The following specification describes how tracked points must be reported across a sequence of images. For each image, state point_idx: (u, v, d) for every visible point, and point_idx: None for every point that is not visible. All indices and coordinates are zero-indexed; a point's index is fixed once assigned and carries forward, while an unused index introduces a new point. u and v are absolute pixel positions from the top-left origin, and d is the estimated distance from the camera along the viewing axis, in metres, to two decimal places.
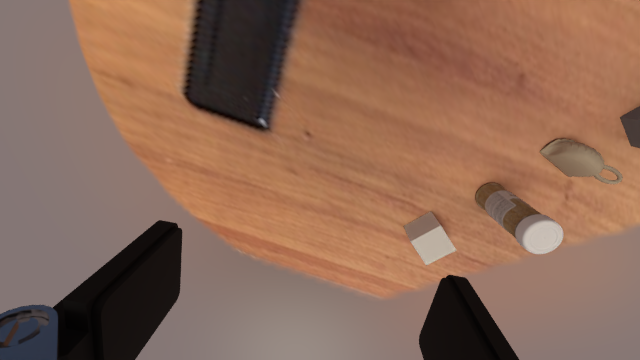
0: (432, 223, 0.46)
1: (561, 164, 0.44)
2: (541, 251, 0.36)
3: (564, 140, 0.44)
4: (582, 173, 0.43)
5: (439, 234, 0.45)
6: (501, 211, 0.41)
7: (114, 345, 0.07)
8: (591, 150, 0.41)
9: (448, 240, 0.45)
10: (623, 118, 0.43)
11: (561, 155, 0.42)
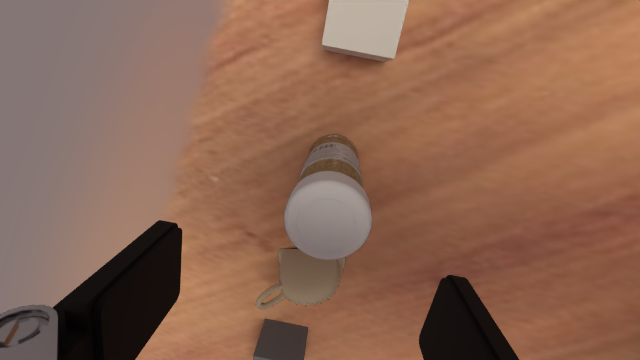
0: None
1: (316, 258, 0.29)
2: (300, 201, 0.15)
3: None
4: (292, 274, 0.28)
5: (378, 40, 0.20)
6: (359, 172, 0.20)
7: (114, 345, 0.07)
8: None
9: (353, 47, 0.20)
10: (306, 331, 0.34)
11: (335, 269, 0.28)
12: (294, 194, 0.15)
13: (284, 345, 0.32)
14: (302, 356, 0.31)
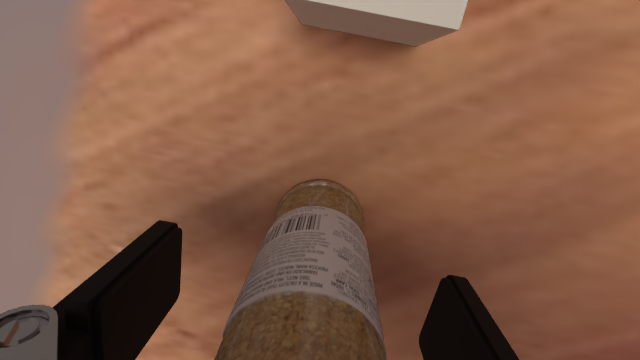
0: None
1: None
2: None
3: None
4: None
5: None
6: (374, 307, 0.08)
7: (114, 345, 0.07)
8: None
9: (358, 1, 0.08)
10: None
11: None
12: None
13: None
14: None
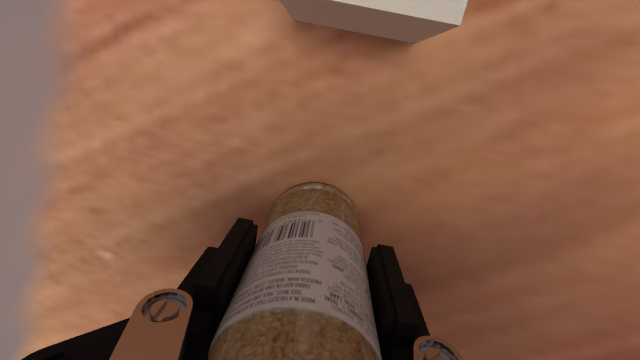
0: None
1: None
2: None
3: None
4: None
5: None
6: (371, 322, 0.08)
7: None
8: None
9: None
10: None
11: None
12: None
13: None
14: None
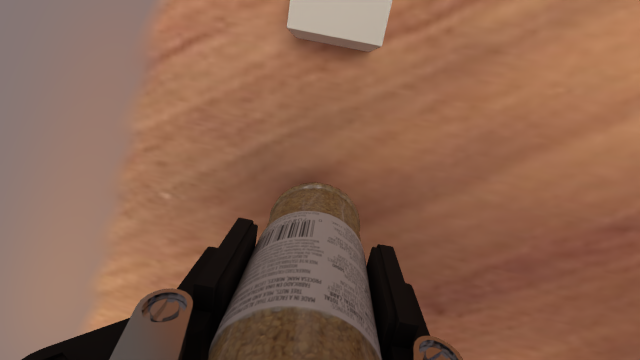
0: None
1: None
2: None
3: None
4: None
5: (361, 22, 0.15)
6: (371, 321, 0.08)
7: None
8: None
9: (328, 30, 0.16)
10: None
11: None
12: None
13: None
14: None
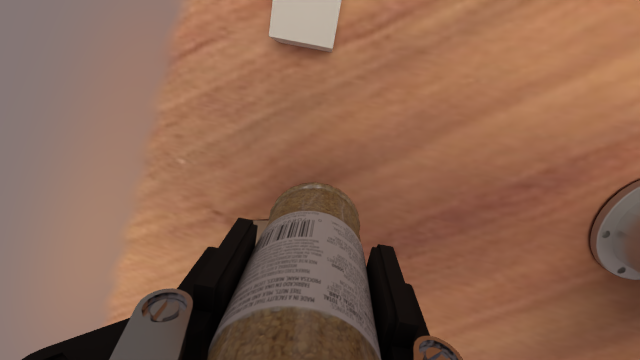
0: None
1: None
2: None
3: None
4: None
5: (318, 32, 0.23)
6: (371, 321, 0.08)
7: None
8: None
9: (296, 38, 0.23)
10: None
11: None
12: None
13: None
14: None
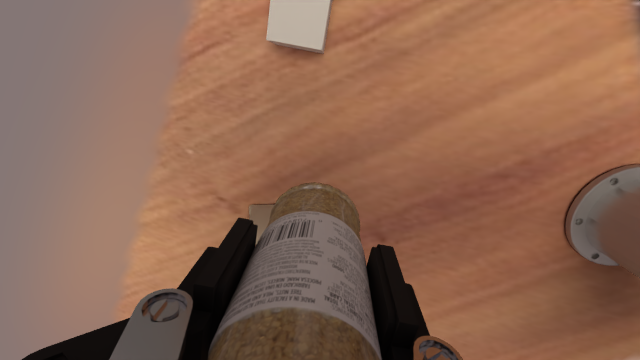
0: (324, 41, 0.28)
1: None
2: None
3: None
4: (258, 222, 0.34)
5: (309, 36, 0.27)
6: (372, 322, 0.08)
7: None
8: None
9: (290, 41, 0.27)
10: None
11: None
12: None
13: None
14: None
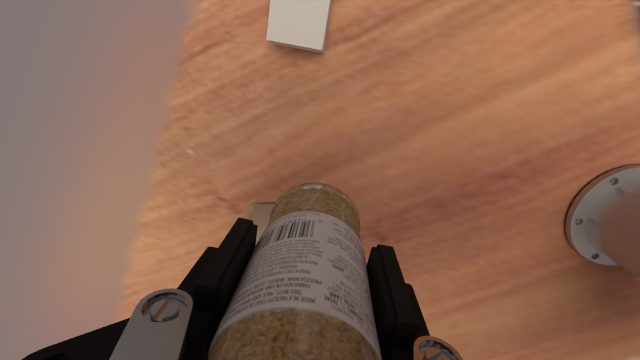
0: (324, 41, 0.28)
1: None
2: None
3: None
4: (259, 221, 0.34)
5: (309, 36, 0.27)
6: (372, 322, 0.08)
7: None
8: None
9: (290, 41, 0.27)
10: None
11: None
12: None
13: None
14: None
